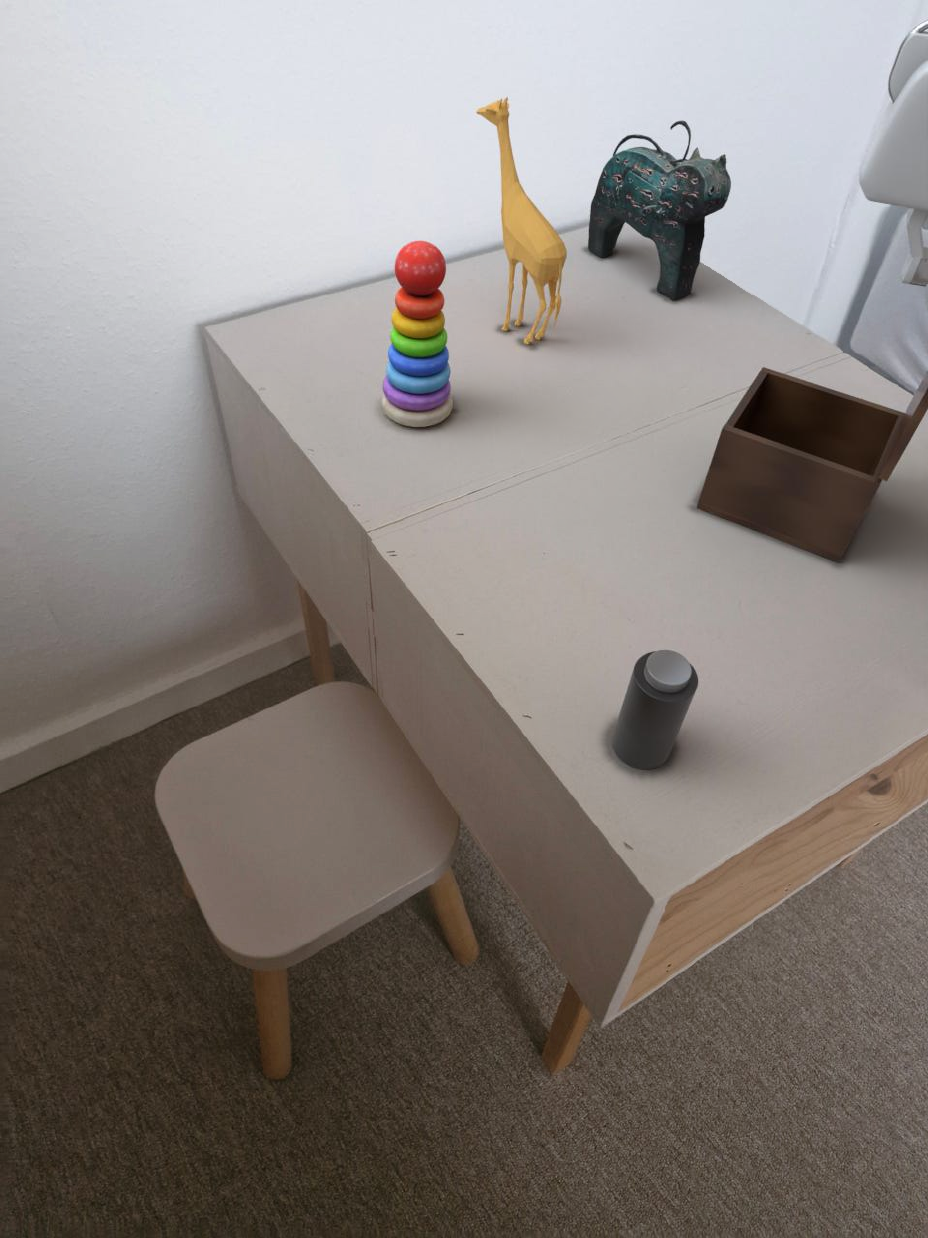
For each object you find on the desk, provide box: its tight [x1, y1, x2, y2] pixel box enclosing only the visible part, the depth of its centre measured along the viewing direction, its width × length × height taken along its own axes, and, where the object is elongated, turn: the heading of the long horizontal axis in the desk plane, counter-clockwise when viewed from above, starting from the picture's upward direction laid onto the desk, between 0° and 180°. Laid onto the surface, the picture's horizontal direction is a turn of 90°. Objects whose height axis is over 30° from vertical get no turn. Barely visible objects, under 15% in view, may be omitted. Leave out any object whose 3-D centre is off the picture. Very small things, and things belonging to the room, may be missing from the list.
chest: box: [696, 366, 905, 563], centre depth 84 cm, size 15×13×10 cm
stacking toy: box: [380, 240, 454, 428], centre depth 88 cm, size 8×8×19 cm
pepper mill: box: [611, 649, 699, 770], centre depth 63 cm, size 5×5×10 cm
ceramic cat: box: [587, 120, 732, 301], centre depth 112 cm, size 20×6×20 cm, turn 37°
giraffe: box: [475, 96, 568, 346], centre depth 99 cm, size 16×4×25 cm, turn 39°
